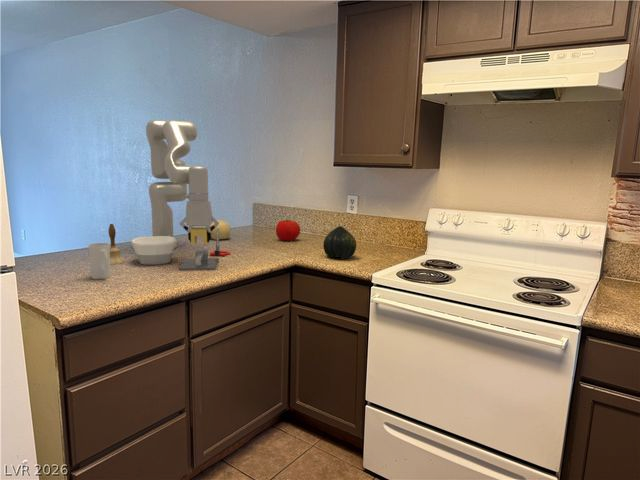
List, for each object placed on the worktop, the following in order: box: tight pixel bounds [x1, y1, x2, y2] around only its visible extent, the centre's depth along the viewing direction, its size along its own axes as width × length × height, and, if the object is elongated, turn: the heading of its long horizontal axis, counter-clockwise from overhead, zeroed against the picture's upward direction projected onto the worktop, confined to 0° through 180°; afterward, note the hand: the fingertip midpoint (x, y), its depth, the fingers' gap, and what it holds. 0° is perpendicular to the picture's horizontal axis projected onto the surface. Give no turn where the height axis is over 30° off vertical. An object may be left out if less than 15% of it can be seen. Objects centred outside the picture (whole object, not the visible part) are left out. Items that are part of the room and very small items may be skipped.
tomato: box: [275, 219, 301, 242], centre depth 246 cm, size 12×13×12 cm
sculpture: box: [210, 219, 232, 241], centre depth 244 cm, size 11×12×11 cm
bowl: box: [131, 235, 178, 266], centre depth 188 cm, size 18×18×9 cm
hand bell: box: [108, 223, 126, 265], centre depth 184 cm, size 8×8×16 cm
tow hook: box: [209, 228, 231, 257], centre depth 205 cm, size 8×13×9 cm
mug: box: [88, 242, 111, 280], centre depth 160 cm, size 10×7×12 cm, turn 45°
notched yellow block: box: [190, 226, 209, 246], centre depth 182 cm, size 6×8×6 cm
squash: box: [322, 225, 357, 260], centre depth 206 cm, size 14×15×15 cm
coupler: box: [178, 247, 220, 271], centre depth 184 cm, size 14×18×5 cm
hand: (199, 241), depth 183 cm, fingers closed on notched yellow block, 6 cm apart
